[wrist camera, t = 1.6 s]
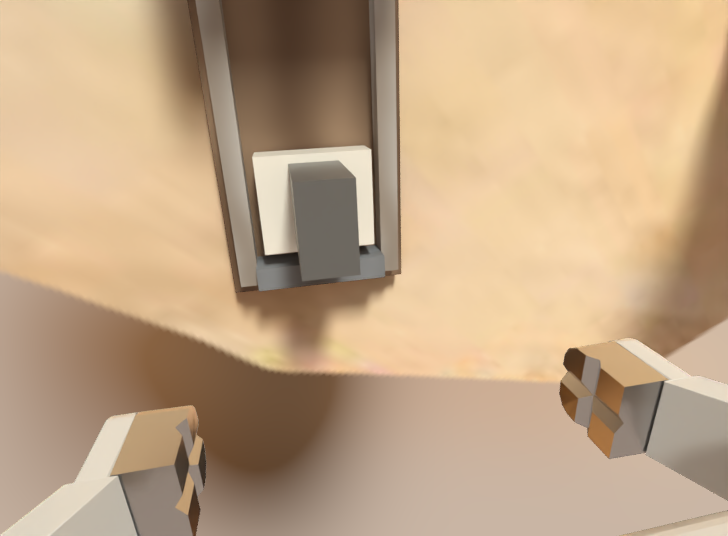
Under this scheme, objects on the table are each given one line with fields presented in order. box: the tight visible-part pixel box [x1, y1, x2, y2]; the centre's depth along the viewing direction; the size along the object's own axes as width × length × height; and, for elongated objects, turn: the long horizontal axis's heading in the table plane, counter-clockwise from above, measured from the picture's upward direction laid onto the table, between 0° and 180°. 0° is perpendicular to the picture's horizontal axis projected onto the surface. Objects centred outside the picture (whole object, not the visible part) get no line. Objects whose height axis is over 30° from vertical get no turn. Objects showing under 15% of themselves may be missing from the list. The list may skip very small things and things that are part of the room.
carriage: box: [252, 145, 374, 281], centre depth 25 cm, size 7×6×8 cm
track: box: [188, 0, 401, 293], centre depth 22 cm, size 12×31×12 cm, turn 3°
